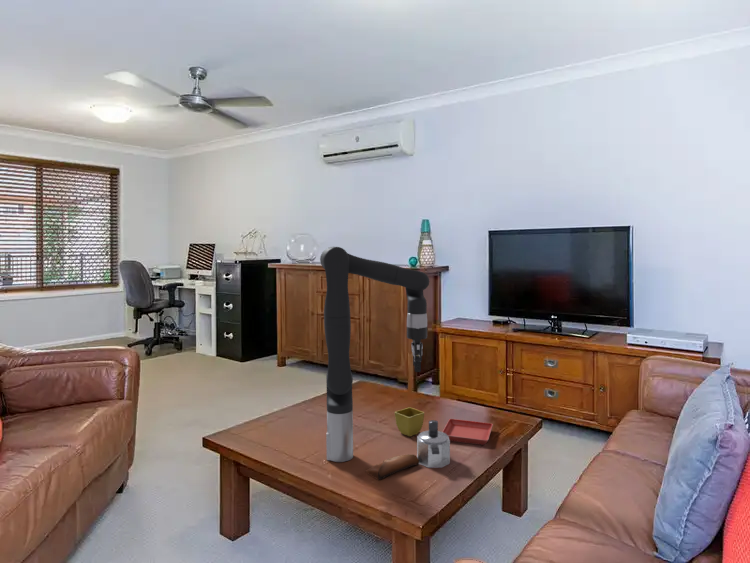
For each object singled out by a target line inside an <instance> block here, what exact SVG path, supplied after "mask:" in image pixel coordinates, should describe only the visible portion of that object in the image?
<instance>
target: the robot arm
mask: <svg viewBox="0 0 750 563" xmlns="http://www.w3.org/2000/svg"><path fill="white" fill-rule="evenodd" d="M319 262H320V265H321V266H322V269H324V272H325V281H326V292H325V294H326V295H325V301H324V307H323V308H324V309H323V319H324V320H323V325H324V326H323V328H324V335H325V336H324V337H325V344H326V348H327V349H326V350H327V358H328V359H327V373H326V434H325V435H326V436H325V437H326V438H325V439H326V445H325V446H326V461H331V462H334V463H335V462H336V463H343V462H347V461H351V460H352V459H353V458H354V419H353V418H354V415H353V414H354V413H353V412H354V408H353V406H354V404H353V403H354V400H353V382H354V381H353V380H354V379H353V374H352V368H351V360H350V348H351V329H352V328H351V327H352V326H351V307H350V306H351V305H350V297H349V296H350V295H349V274H353V275H357V276H361V277H365V278H368V279H372V280H374V281H377V282H381V283H384V284H389V285H393V286H400V287H404V288H405V293H406V294H405V295H406V299H407V305H406V306H407V308H406V309H407V312H406V313H407V315H406V338H407V339H408V340H411V341H412V342H411V343H410V344H411V352H412V366H413V367H414V372H415V373H421V371H422V365H421V364H422V361H423V345H424V344H423V342H422V341H421V340H425V339H427V338H428V315H427V312H428V310H427V306H428V305H427V303H428V302H427V299H426V298H425V295H424V291H425V290H426V289H427V288H428V286H429V285H430V278H429V276H428V274H426V273H425V272H424V271H419V270H415V269H410V268H405V267H402V266H399V265H396V264H391V263H387V262H383V261H378V260H372V259H366V258H363V257H359V256H356V255H352V254H350V253H348V251H347V250H345V249H344V248H343V247H340V246H330V247H328V248H325V249H324V250H323V251H322V252H321V255H320V258H319Z"/></svg>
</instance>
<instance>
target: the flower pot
mask: <svg viewBox="0 0 750 563" xmlns="http://www.w3.org/2000/svg"><path fill="white" fill-rule="evenodd" d="M394 418H395V419H394V420H395V424H396V426H397V429H398V431H399V433H400V434H402V435H404V436H407V437H413V436H415V435H419V434H420V432H421V430H422V428H423V425H424V419H425V411H422V410H419V409H417V408H413V407H409V406H408V407H407V408H403V409H399V410H395V411H394Z"/></svg>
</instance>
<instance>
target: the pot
mask: <svg viewBox="0 0 750 563" xmlns="http://www.w3.org/2000/svg"><path fill="white" fill-rule="evenodd" d="M416 456H417V458H418V460H419V464H418V465H421V466H424V467H426V468H429V469H430V468H433V469H434V468H436V469H437V468H442V469H443V468H444V467H446V466H448V465H449V464H450V463H451V441H450V440H449V437H448V440H447V441H446V442H445V443H441V444H428V443H424V442H422V441H420V440H419V434H417V436H416Z"/></svg>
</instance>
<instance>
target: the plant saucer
mask: <svg viewBox="0 0 750 563" xmlns="http://www.w3.org/2000/svg"><path fill="white" fill-rule="evenodd" d="M493 426H494V424H493V423H492V422H490V423H489V422H483V421H472V420H465V419H457V418H456V419H455V418H449V419H448V421H447V422H446V424H445V426H444V428H443V429H442V431H441V432H444V433H445V434H447V436H448V437H449V440H450V442H455V443H457V442H458V443H463V444H464V443H465V444H471V443H472V444H473V445H479V444H481V445H480V446H484V445H486V444H487V442H489V439H490V435H491V432H492V429H493Z"/></svg>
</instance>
